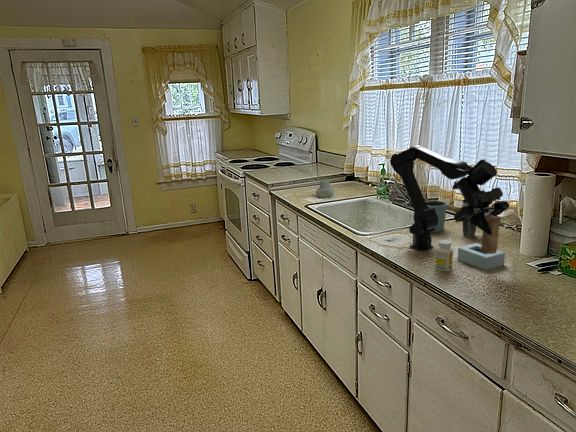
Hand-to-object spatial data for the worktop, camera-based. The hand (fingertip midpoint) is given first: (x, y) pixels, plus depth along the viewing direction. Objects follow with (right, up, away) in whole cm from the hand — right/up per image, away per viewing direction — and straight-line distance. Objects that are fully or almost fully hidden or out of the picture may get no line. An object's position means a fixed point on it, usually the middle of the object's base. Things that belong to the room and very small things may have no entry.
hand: (493, 233), depth 137 cm
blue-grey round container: (-2, 0, +52) cm, 52 cm away
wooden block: (0, -6, +3) cm, 7 cm away
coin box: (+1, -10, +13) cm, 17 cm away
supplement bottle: (-13, -12, +9) cm, 20 cm away
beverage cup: (+9, -3, +41) cm, 42 cm away
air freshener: (-44, +17, +125) cm, 133 cm away
